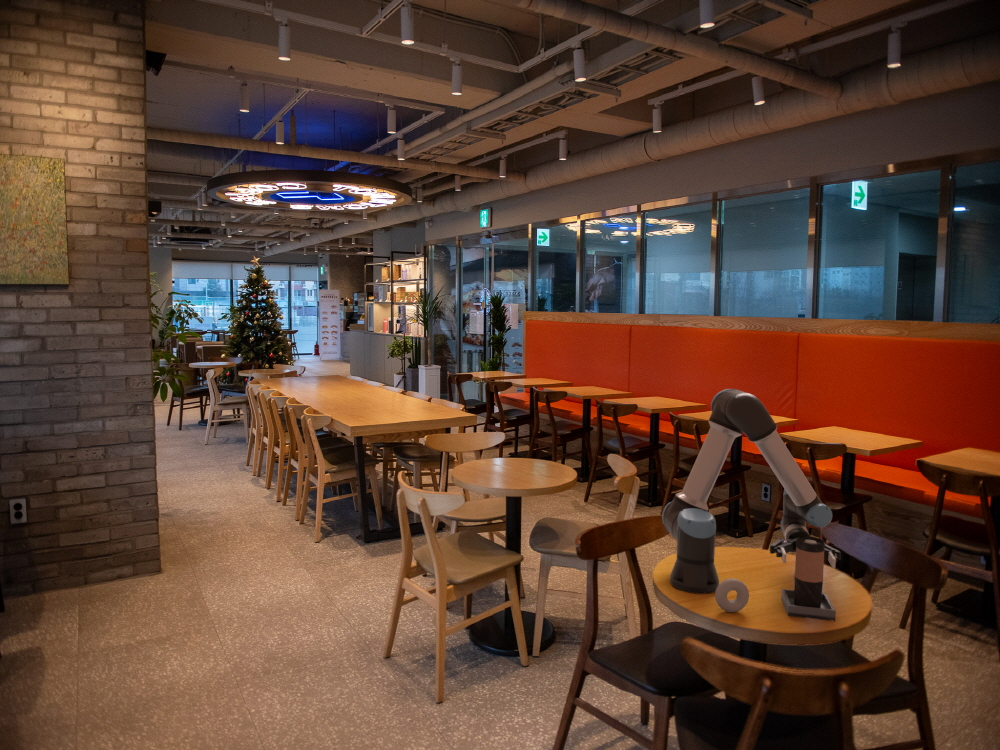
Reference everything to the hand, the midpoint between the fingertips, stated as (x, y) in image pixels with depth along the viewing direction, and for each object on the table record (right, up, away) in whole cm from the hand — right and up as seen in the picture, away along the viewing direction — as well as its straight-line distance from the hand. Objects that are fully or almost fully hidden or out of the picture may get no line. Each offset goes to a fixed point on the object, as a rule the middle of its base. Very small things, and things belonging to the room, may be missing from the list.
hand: (809, 561), depth 205 cm
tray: (-1, -14, -1) cm, 14 cm away
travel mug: (-1, -13, -1) cm, 13 cm away
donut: (-25, -14, -4) cm, 29 cm away
